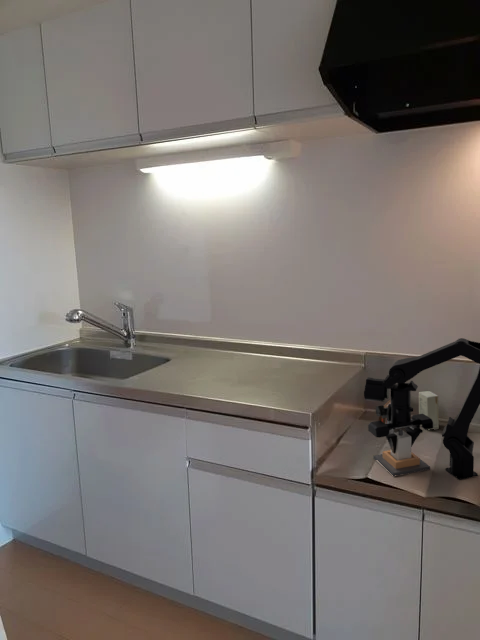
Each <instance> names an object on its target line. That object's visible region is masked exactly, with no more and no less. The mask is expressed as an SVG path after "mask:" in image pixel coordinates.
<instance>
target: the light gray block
mask: <svg viewBox="0 0 480 640" xmlns="http://www.w3.org/2000/svg"><path fill="white" fill-rule="evenodd" d="M394 434H396V435H397V444H396V452H395V454H394V453H393V452H392V450H391V449H390V450H391V455H392V456H393V457H394V458H395V459H397V460H403V459H409V458H411V452H412V447H411V436H410V435H408V434H407V433H406V431H404V430H403V428H399V429H398V431H394Z"/></svg>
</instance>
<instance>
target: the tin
mask: <svg viewBox="0 0 480 640" xmlns="http://www.w3.org/2000/svg"><path fill="white" fill-rule="evenodd" d="M388 404H391V399H389V400H388V401H387V402H386V403H385V404H384V405H383V406H384V408H385V407H388ZM377 421H382V422H383V423H385V424H389V423H391V421H388V420H387V418H382V416H378V420H377Z"/></svg>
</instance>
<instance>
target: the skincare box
mask: <svg viewBox="0 0 480 640" xmlns="http://www.w3.org/2000/svg"><path fill="white" fill-rule="evenodd" d="M418 414H424V415H426V416H428V417H429V418H431V419H432V420H433V428H432V429H434V430H439V427H440V426H439V425H440V424H439V420H440V419H439V416H440V415H439V395H438V394H436V393H434V392H432V391H430V390H428V391H427V390H425V391H419V392H418ZM420 427H422V425H420ZM434 430H433V431H434ZM427 431H431V430H430V429H428V430H427Z"/></svg>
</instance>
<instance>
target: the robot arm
mask: <svg viewBox="0 0 480 640" xmlns="http://www.w3.org/2000/svg"><path fill="white" fill-rule="evenodd" d="M460 356H462V357H464V358H467V359H468V360H471V361H472V362H475V363H476V364H478V365H480V342H479V341H478V342H477V341H473V340H469V339H466V338H463V337H462V338H458V339H456V340H455V341H453V342H450V343H448V344H445V345H443V346H440V347H438V348H435V349H433V350H431V351H428V352H426V353H423V354H422V355H419V356H418V355H417V356H413V357H406V358H401V359H398V360H396V361H394V363H393V364H392V365H391V367H390V368H389V370H388V375H386V377H384V378H383V379H382V378H373V377H367V378H366V380H365V385H364V391H363V396H364V397H363V398H364V400H365V401H371V402H383V403H384V402H385V401H386V399H389V398H390V400H391V404H388V407H385V408H384V405H376V406H375V414H376V416H377V417H379V416H382V418H387V420H388V421H391V423H389V424H385V423H383V422H382V421H378V420H376V421H370V422H369V423H368V425H367V429H368V430H367V431H368V432H370V433H371V434H372V435H373V436H374V437H375V438H384V437H385V438H386V440H387V442H388V444H389V447H390V450H392V452H393V453H394V454H395V452H396V444H397V435H396V434H394V432H395V430H399V429H405V432H406V433H407V434H408V435H410V436H411V448H412V447H413V446H414V443H415V442H416V440H417V439H418V437H419V436H420V435H421V434H422V433H423V432H424V430H425V431H427V430H426V429H432V428H433V420H432V419H431V418H429V417H428V416H426V415H424V414H419V413H418V414H413V415H412V412H414V408H413V407H412V405H411V404H412V401H411V400H412V399H411V398H412V397H411V396H412V392H416V391H417V390H418V387H419V385H417V384H416V383H415V382H414V381H413V380H411V379H413V378H414V377H416V376H417V375H419V374H420V373H422V372H423V371H425V370H429V369H430V368H433V367H435V366H437V365H438V366H439V365H440V364H443V363H446V362H447V361H450V360H453V359H456V358H457V357H460ZM478 367H479V368H478V373H477V374H476V377H475V379H474V381H473V383H472V385H471V387H470V389H469V391H468V394H467V396H466V398H465V399H464V402H463V404H462V406H461V407H460V411H458V414H457V415H456V417H454V418H452V417H451V416H448V419H447V424H446V425H445V426H444V427H443V430H442V432H441V433H442V434H441V437H443V438H442V444H443V445H444V448H445V449H447V450H448V451H449V466H448V467H446V468H445V471H446V472H448V473H449V475H452V476H453V477H454V478H455V479H457V480H465V479H469V478H474V477H479V474H478V472H476V471H475V470H474V466H475V465H474V464H475V463H474V462H475V461H474V460H475V456H474V455H473V450H474V445H475V441H474V440H472V438H470V437H469V436H468V433H469V428H470V424H471V423H472V421H473V419H474V416H475V414H476V413H477V412H478V408H479V406H480V366H478ZM408 381H409V382H408ZM411 415H412V416H411ZM421 425H422V426H421ZM421 428H422V429H421Z"/></svg>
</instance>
